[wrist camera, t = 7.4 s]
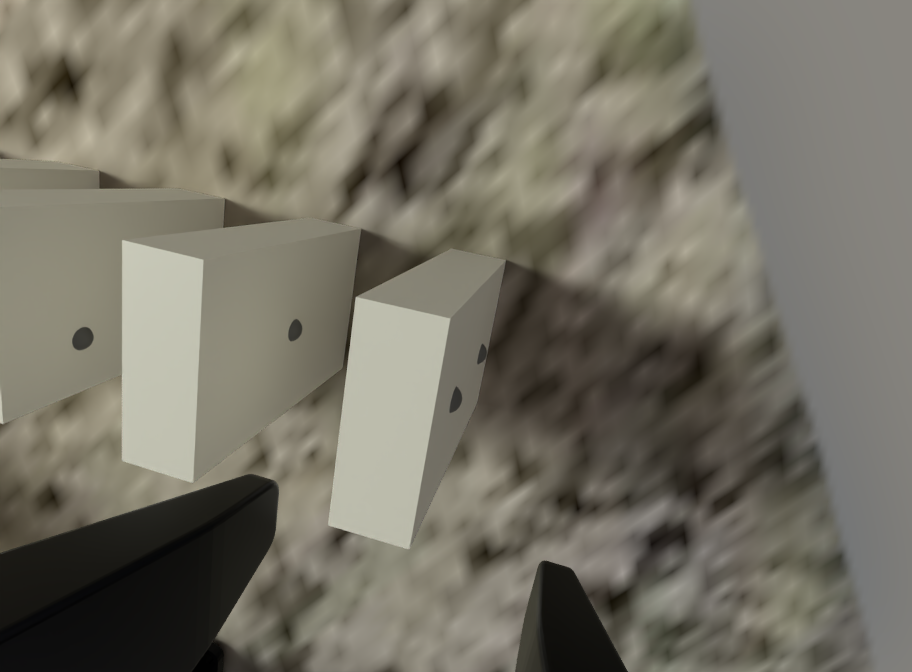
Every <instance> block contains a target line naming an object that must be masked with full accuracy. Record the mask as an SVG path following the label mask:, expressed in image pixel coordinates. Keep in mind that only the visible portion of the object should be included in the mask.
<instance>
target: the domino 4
mask: <svg viewBox="0 0 912 672" xmlns="http://www.w3.org/2000/svg"><path fill="white" fill-rule="evenodd" d="M505 264H506V260H504V259H499V258H494V257H490V256H485V255H480V254H475V253H470V252H466V251H461V250H456V249H450V250H448V251H446V252H444V253H442V254H440V255H438V256H436V257H434V258H432V259H430V260H428V261H426V262H424V263H422V264H420V265H418V266H416V267H414V268H412V269H410V270H408V271H406V272H404V273H402V274H400V275H398V276H396V277H394V278H392V279H390V280H388V281H386V282H384V283H382V284H380V285H378V286H376V287H374V288H372V289H371V290H369V291H367V292H365V293H363V294H361V295H359V296H357V297H356V300H355V308H354V316H353V325H352V333H351V341H350V349H349V357H348V366H347V374H346V382H345V390H344V399H343V407H342V415H341V423H340V431H339V440H338V448H337V456H336V464H335V472H334V481H333V489H332V497H331V505H330V514H329V522H328V525H329V526H332V527H336V528H339V529H342V530H346V531H349V532H352V533H356V534H359V535H362V536H366V537H369V538H372V539H376V540H379V541H382V542H386V543H389V544H392V545H396V546H399V547H402V548H406V549H410V547H411V545H412V543H413V541H414V538H415V536H416V534H417V532H418V530H419V528H420V526H421V523H422V521H423V519H424V517H425V515H426V513H427V510H428V508H429V506H430V504H431V502H432V500H433V497H434V495H435V493H436V491H437V489H438V487H439V485H440V482H441V480H442V478H443V476H444V474H445V472H446V469H447V467H448V465H449V463H450V461H451V459H452V456H453V454H454V452H455V450H456V448H457V446H458V444H459V441H460V439H461V437H462V435H463V433H464V431H465V428H466V426H467V424H468V422H469V420H470V418H471V415H472V413H473V411H474V409H475V407H476V405H477V402H478V397H479V392H480V387H481V382H482V377H483V372H484V368H485V363H486V358H487V353H488V348H489V343H490V338H491V333H492V328H493V323H494V318H495V313H496V308H497V304H498V299H499V294H500V289H501V284H502V279H503V274H504V269H505Z"/></svg>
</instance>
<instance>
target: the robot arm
mask: <svg viewBox="0 0 912 672" xmlns="http://www.w3.org/2000/svg"><path fill="white" fill-rule="evenodd" d="M278 498H279V487H278V484H277V483H276V482H275V481H274V480H271V479H267V478H264V477H261V476H257V475H253V474H248V475H244V476H241V477H238V478H235V479H232V480H229V481H225V482H222V483H219V484H216V485H213V486H210V487H207V488H203V489H200V490H197V491H194V492H191V493H188V494H185V495H181V496H178V497H175V498H172V499H169V500H166V501H163V502H159V503H156V504H153V505H150V506H147V507H144V508H141V509H137V510H134V511H131V512H128V513H125V514H122V515H119V516H115V517H112V518H109V519H106V520H103V521H100V522H96V523H93V524H90V525H87V526H84V527H81V528H78V529H74V530H71V531H68V532H65V533H62V534H59V535H56V536H52V537H49V538H46V539H43V540H40V541H37V542H34V543H30V544H27V545H24V546H21V547H18V548H15V549H11V550H8V551H5V552H2V553H0V672H222V671H223V657H224V654H223V651H222V649H221V648H220V647H219V646H218V645H217V644H215V643H213V640H214V639H215V637H216V636H217V634H218V632H219V631H220V629H221V628H222V626H223V624H224V623H225V621H226V619H227V618H228V616H229V614H230V613H231V611H232V609H233V608H234V606H235V604H236V603H237V601H238V600H239V598H240V596H241V595H242V593H243V591H244V590H245V588H246V586H247V585H248V583H249V581H250V580H251V578H252V576H253V575H254V573H255V571H256V570H257V568H258V566H259V565H260V563H261V562H262V560H263V558H264V557H265V555H266V553H267V552H268V550H269V548H270V546H271V544H272V542H273V539H274V536H275V531H276V521H277V509H278ZM515 672H628V671H627V669H626V668H625V666H624V664H623V662H622V660H621V658H620V656H619V655H618V653H617V651H616V649H615V647H614V645H613V643H612V641H611V640H610V638H609V636H608V634H607V632H606V630H605V628H604V627H603V625H602V623H601V621H600V619H599V617H598V615H597V614H596V612H595V610H594V608H593V606H592V604H591V602H590V601H589V599H588V597H587V595H586V593H585V591H584V589H583V588H582V586H581V584H580V582H579V580H578V578H577V576H576V575H575V573H574V571H573V570H572V569H571V568H569V567H566V566H562V565H559V564H556V563H552V562H549V561H542V562H541V563H540V564H539V566H538V569H537V572H536V576H535V580H534V584H533V587H532V591H531V595H530V598H529V602H528V606H527V610H526V614H525V618H524V623H523V628H522V634H521V640H520V646H519V652H518V658H517V664H516V670H515Z"/></svg>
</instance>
